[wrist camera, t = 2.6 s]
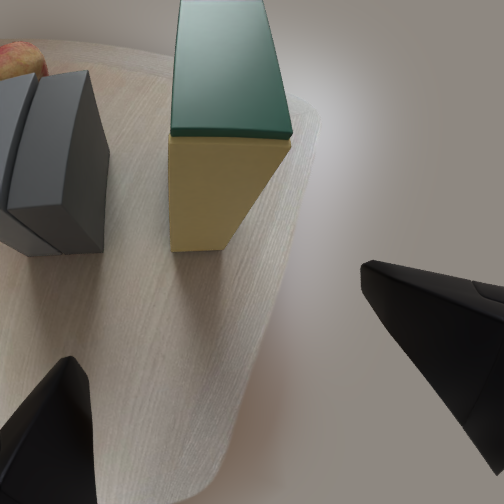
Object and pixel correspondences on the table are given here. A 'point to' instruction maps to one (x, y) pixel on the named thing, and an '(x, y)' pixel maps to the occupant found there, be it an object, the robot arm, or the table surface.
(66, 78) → the grey grooved block
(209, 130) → the green book
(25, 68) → the fruit
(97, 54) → the table surface
